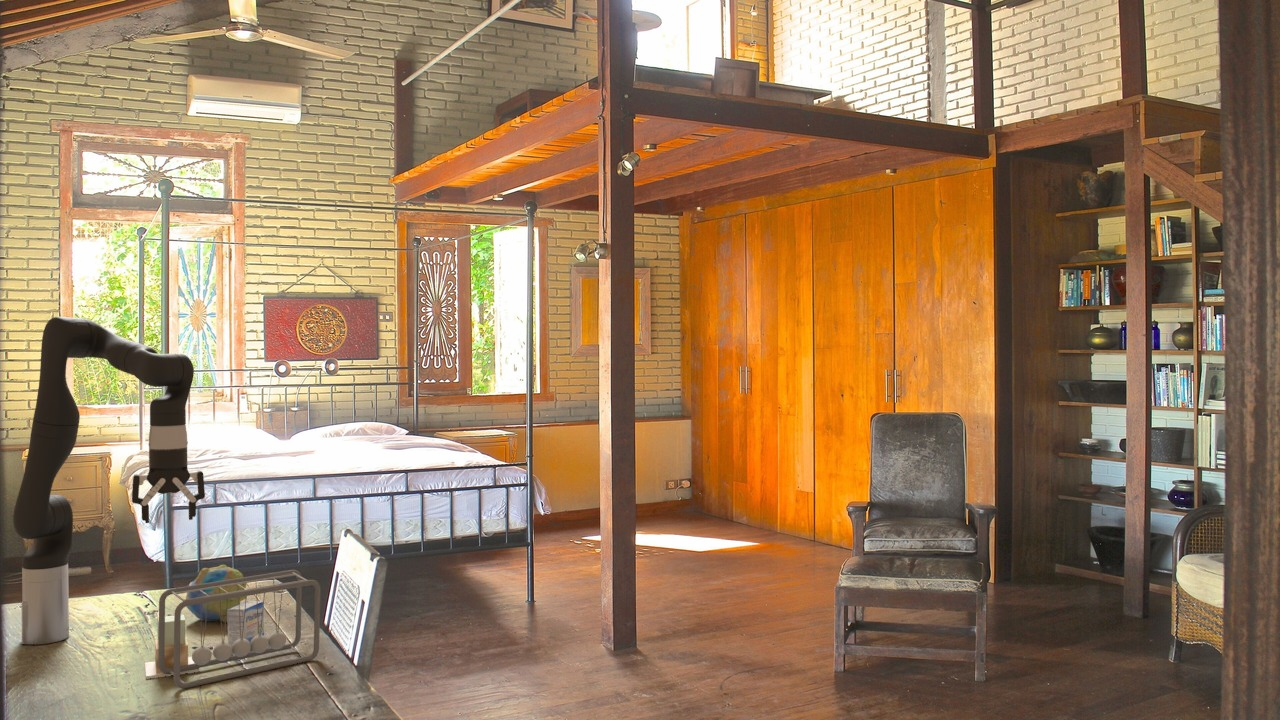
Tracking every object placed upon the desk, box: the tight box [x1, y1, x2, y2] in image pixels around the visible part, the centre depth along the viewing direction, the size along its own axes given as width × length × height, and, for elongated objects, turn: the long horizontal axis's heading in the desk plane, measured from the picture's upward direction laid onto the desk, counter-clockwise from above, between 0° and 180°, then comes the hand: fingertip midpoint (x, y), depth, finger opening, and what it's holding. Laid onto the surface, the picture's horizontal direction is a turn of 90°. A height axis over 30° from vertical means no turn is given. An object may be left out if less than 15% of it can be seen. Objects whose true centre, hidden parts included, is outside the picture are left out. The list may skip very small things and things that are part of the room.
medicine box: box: [227, 600, 265, 647], centre depth 232 cm, size 8×4×9 cm, turn 168°
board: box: [144, 656, 200, 680], centre depth 214 cm, size 10×10×1 cm
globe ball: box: [185, 564, 248, 624], centre depth 252 cm, size 14×16×15 cm
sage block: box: [157, 613, 186, 646], centre depth 213 cm, size 5×5×5 cm
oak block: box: [154, 635, 189, 673], centre depth 214 cm, size 6×8×5 cm
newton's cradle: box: [158, 569, 322, 689], centre depth 213 cm, size 30×10×18 cm, turn 132°
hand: (169, 520), depth 219 cm, fingers open, 8 cm apart
